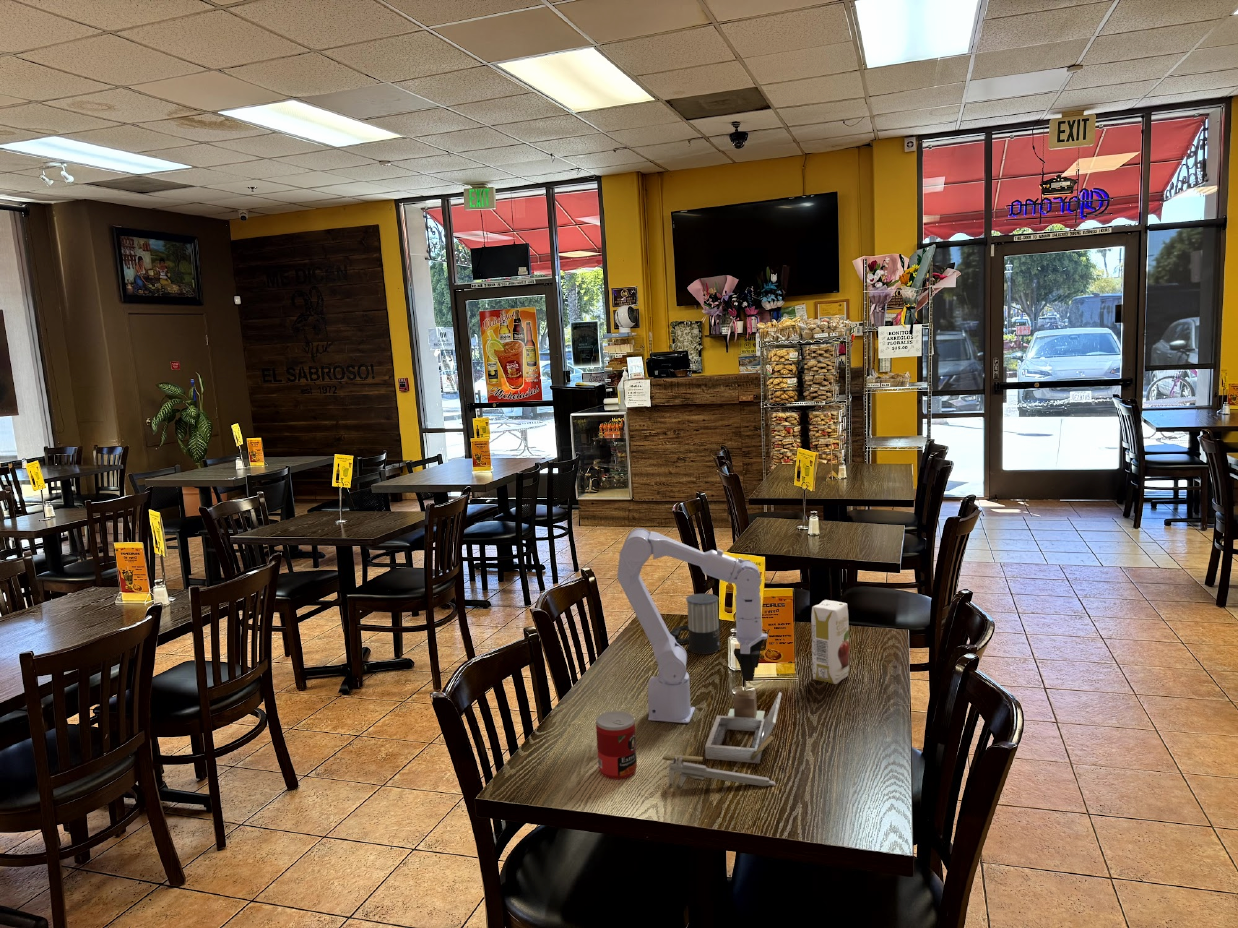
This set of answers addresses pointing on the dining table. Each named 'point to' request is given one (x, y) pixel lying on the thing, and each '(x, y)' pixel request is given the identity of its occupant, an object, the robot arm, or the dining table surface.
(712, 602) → the milk frother
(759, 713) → the green rubber mat
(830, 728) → the dining table surface
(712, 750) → the aluminium case
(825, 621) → the juice carton
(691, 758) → the brass bar
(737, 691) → the walnut block
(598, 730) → the canned food
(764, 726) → the propped lid
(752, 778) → the caliper
